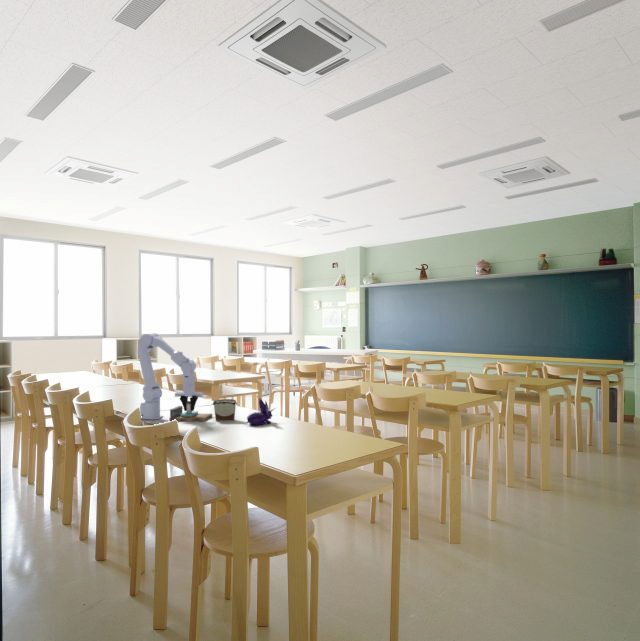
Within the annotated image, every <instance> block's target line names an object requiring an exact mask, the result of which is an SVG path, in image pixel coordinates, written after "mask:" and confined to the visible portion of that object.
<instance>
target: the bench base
mask: <svg viewBox="0 0 640 641" xmlns="http://www.w3.org/2000/svg"><path fill="white" fill-rule="evenodd" d="M182 413H183V405H178V406H175V407H174V408H173V407H172V408H170V409H169V417H168V418H169V419H168V420H174V419H176V420H178V421H177V422H195V421H199V422H200V423H201V422H202V423H203V422H206V421H207V420H209V419H211V418H213V413H198V414H196V415H194V416H192V417H180V414H182Z"/></svg>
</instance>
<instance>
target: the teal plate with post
mask: <svg viewBox="0 0 640 641" xmlns="http://www.w3.org/2000/svg"><path fill="white" fill-rule="evenodd" d="M186 405H187V411H184V412H182V414H180V417H192V416H194V415H196V414H199V411H198V410H194V411H191V402H190V400H188V401H186Z"/></svg>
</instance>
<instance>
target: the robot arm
mask: <svg viewBox="0 0 640 641" xmlns="http://www.w3.org/2000/svg"><path fill="white" fill-rule="evenodd" d="M138 342H139V343H138V348H137V354H138V360H139V363H140V368H141V369H140V370H141V373H142V376H143V381H144V386H143V387H142V390H143V391H142V398H143V401H141V402H140V405H139V414H140V413H141V416H142V419H141V420H155V421H156V420H159V419H161V418H163V417H164V415H161V397H162V395H163V391H162V388H160V386H159V383H158V382H157V381H156V377H155V371H154V368H153V367H154V366H153V364H152V360H151V355H150V352H151V351H152V349H153V348H154V347H155V348H157V347H158V348H160V349H161V350H162V351H164V352H165V353H166V354H167V355H169V357H170V359H171V361H172V362H173V363H175V364H176V365H178V366H177V367H180V370H181V371H182V392H181V391H180V392H175V393H174V397H175V398H178V397H179V401H180V402H181V404H182V408H183V410H184V412H187V405H186V401H190V402H191V411H195V406H196V403H197V401H198V399H199V398H202V397H204V392H199V391H198V392H195V391H196V389H195V383H196V381H195V371H196V369H197V363H196V362H195V361H194V360H191V359H190V358H189V357H187V356H185V355H184V353H183V351H179V350H175V349H174V348H173V347H172V346H171V345H169V344H168V342H166V341H165V340H164V339H163V337H162V336H159V335H158V333H155V332H154V333H144V334H142V335H141V336H140V337H139V339H138ZM188 399H189V400H188Z"/></svg>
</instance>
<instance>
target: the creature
mask: <svg viewBox="0 0 640 641" xmlns="http://www.w3.org/2000/svg"><path fill="white" fill-rule="evenodd" d="M258 405H259V410H258V411H254V412H250V414H248V415H247V417H246V419H247V421H245V424H250V425H254V426H260V425H261V426H262V425H264V424H265V423H266V424H269V425H270V424H271V423H273V421H270V420H271V419H272V417H273V414H272V412H273V411H274V410H275V409H276V407H274V408H273V409H271V410H270V409H269V408H270V407H269V405H268V402H267V401H266V400H265V402H264V401H263V400H262V398H260V397H258Z"/></svg>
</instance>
